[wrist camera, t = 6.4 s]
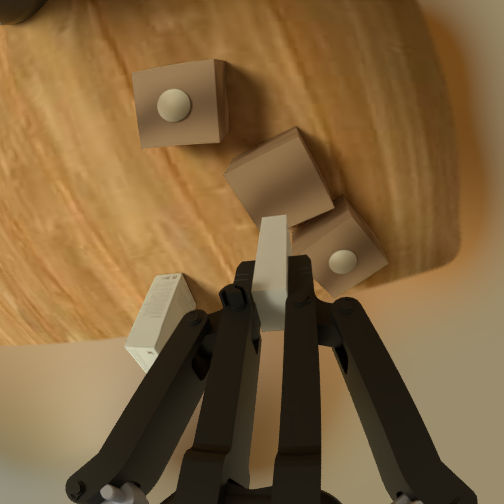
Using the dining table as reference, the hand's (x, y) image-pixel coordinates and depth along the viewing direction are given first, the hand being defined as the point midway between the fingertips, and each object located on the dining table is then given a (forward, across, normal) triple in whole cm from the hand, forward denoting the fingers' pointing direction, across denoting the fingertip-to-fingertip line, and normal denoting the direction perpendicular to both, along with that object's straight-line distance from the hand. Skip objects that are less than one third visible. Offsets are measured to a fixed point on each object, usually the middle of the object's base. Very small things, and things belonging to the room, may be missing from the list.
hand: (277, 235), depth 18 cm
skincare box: (+12, -16, -14) cm, 25 cm away
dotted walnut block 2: (+12, +5, -8) cm, 16 cm away
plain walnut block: (+12, 0, 0) cm, 12 cm away
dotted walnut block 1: (+12, -7, +9) cm, 17 cm away
